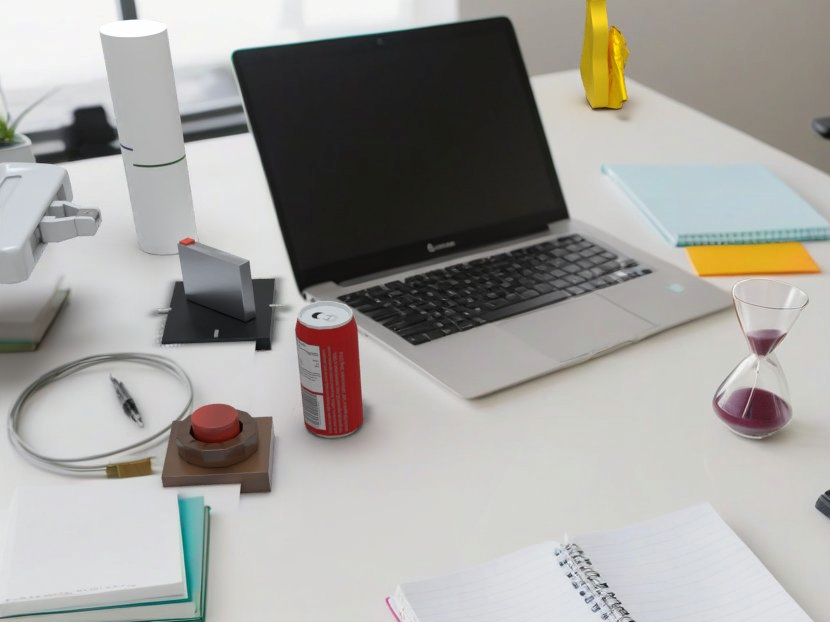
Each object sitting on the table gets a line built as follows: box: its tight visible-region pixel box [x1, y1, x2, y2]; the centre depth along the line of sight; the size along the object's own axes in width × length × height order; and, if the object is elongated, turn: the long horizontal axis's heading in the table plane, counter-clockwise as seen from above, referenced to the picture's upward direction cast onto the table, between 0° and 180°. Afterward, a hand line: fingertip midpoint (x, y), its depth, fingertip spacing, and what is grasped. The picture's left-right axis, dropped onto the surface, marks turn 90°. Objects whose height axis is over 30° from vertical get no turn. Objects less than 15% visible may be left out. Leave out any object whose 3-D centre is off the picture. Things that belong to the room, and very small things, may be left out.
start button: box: [191, 403, 240, 443], centre depth 101 cm, size 4×4×2 cm
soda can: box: [294, 300, 364, 439], centre depth 106 cm, size 6×6×12 cm
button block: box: [160, 408, 276, 495], centre depth 103 cm, size 9×9×4 cm
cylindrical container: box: [98, 19, 199, 256], centre depth 134 cm, size 7×7×25 cm
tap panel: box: [157, 278, 284, 352], centre depth 125 cm, size 14×13×2 cm
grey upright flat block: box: [177, 238, 256, 322], centre depth 123 cm, size 9×2×7 cm, turn 56°
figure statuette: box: [579, 0, 631, 110], centre depth 182 cm, size 18×8×22 cm, turn 8°
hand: (98, 221), depth 112 cm, fingers closed
